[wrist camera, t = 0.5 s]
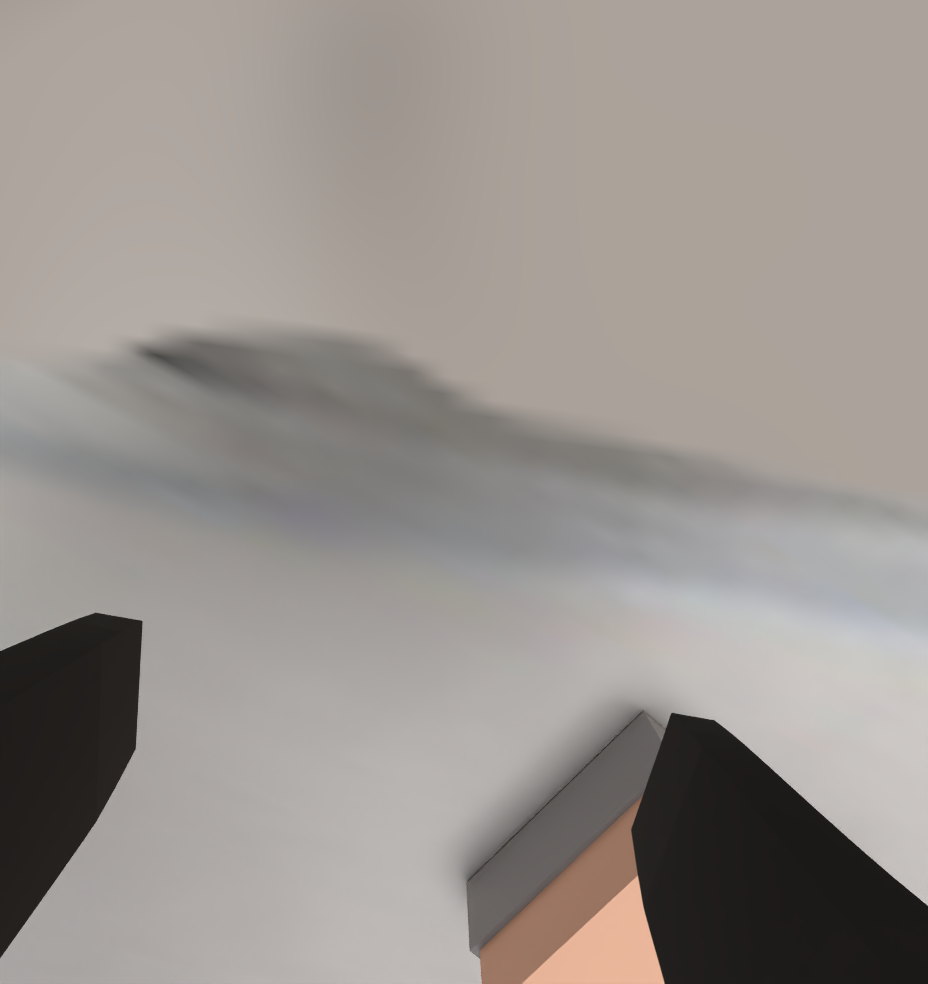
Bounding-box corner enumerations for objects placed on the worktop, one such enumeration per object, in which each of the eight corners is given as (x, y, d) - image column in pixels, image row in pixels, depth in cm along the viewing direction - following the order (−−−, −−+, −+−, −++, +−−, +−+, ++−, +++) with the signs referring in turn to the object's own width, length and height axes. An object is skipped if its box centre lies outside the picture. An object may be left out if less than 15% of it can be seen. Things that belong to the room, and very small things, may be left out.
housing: (681, 1049, 23) (710, 1132, 20) (466, 882, 21) (469, 950, 19) (855, 896, 22) (907, 963, 19) (643, 710, 20) (671, 758, 18)
